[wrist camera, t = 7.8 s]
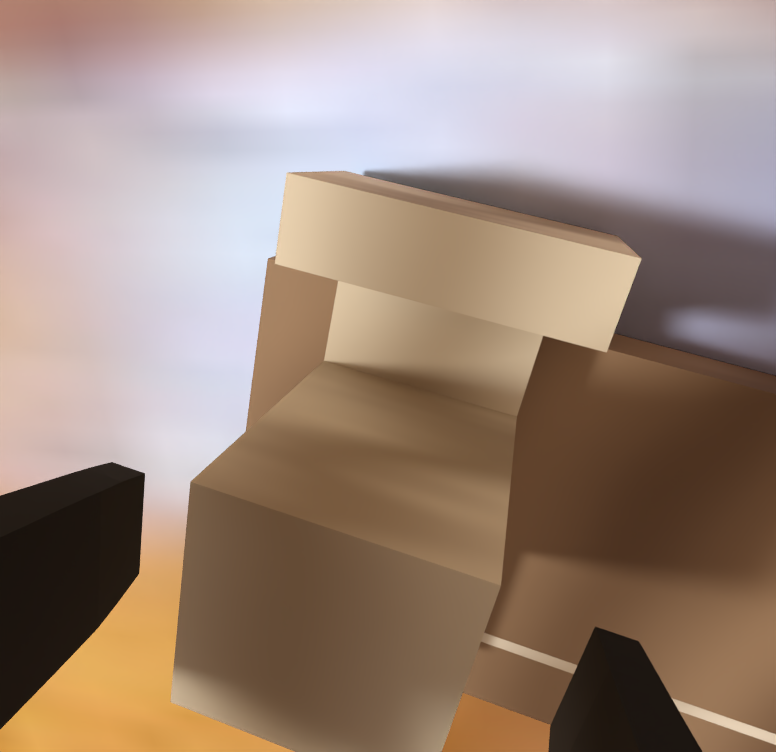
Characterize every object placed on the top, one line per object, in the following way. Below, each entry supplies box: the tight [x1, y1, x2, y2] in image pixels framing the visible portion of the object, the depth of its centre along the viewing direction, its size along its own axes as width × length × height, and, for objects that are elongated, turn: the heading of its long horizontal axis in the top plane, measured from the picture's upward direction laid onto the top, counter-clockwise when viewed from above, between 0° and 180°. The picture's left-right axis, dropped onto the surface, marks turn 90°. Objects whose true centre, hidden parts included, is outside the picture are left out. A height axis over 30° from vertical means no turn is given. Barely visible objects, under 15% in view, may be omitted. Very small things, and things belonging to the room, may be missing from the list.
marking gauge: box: [171, 171, 642, 752], centre depth 11 cm, size 6×11×7 cm, turn 168°
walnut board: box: [246, 256, 776, 752], centre depth 14 cm, size 20×10×2 cm, turn 78°
